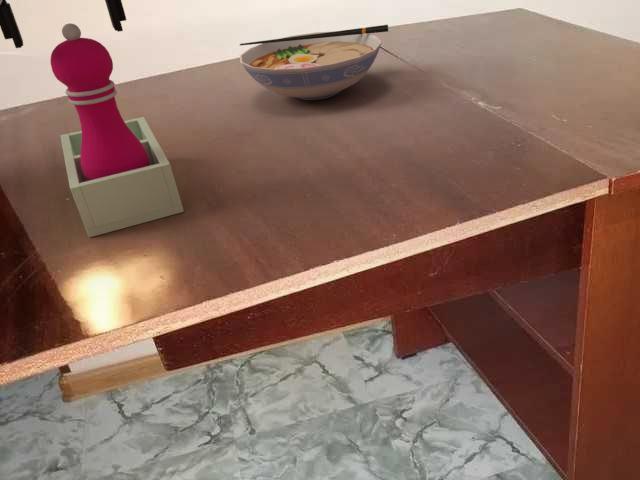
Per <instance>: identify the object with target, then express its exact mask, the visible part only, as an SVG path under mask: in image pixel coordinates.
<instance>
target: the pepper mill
mask: <svg viewBox="0 0 640 480" xmlns="http://www.w3.org/2000/svg"><path fill="white" fill-rule="evenodd" d="M61 34H62V36H63V38H64V39H65V40H64V41H61V42H60V43H58V44H57V45H56V46H55V47H54V48H53V50H52V52H51V54H50V67H51V71H52V73H53V76H54V77H55V78H56V80H57V81H59V82H60V83H61V84H62V85H64V86H66V87H67V89H65V91H64V92H65V95H66V96H67V97H68V99H67V101H68V103H69V104H71V105H73V106H74V108H75V111H76V112H77V115H78V118H79V123H80V129H81V130H80V131H82V144H81V154H80V157H81V167H82V170H83V173H84V176H85V178H86V179H87V180H88V181H90V180H94V179H98V178H102V177H106V176H110V175H114V174H118V173H122V172H126V171H131V170H135V169H139V168H143V167H147V166H149V158H148V155H147V153H146V150H145V148H144V147H143V145H142V144H141V142H140V141H139V140H138V139H137V137H136V136H135V135H134V134H133V133H132V131H131V130H130V129H129V128H128V126H127V125H126V124H125V122H124V121H125V120H124V119H123V117H122V115H121V113H120V111H119V108H118V105H117V102H116V96H117V94H118V90H117V89H116V87H115V85H116V84H115V82H114V81H113V80H111V79H110V77H111V75H112V73H113V69H114V63H113V62H114V61H113V59H112V56H111V54H110V52H109V51H108V49H107V47H106V46H104V45H103V44H102V43H101V42H99V41H97V40H95V39H92V38H88V37H81V36H82V31H81V29H80V27H79V26H78V25H77V24H75V23H66V24H64V25H63V26H62V28H61Z"/></svg>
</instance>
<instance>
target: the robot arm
mask: <svg viewBox="0 0 640 480" xmlns="http://www.w3.org/2000/svg"><path fill="white" fill-rule="evenodd" d="M104 2H105V5H106V9H107V12H108V16H109V18H110V22H111V26H112V28H113V29H114V31H115V32H119V33H120V32H124V30H123V26H122V22H124V21H125V22H126V21H127V17H126V13H125V9H124V5H123V1H122V0H104ZM0 30H1V32H2V35H3V37H4V40H12V41H13V45H14V48H15V49H21V48H22V47H24V40H23V37H22V34H21V31H20V29H19V26H18V22H17V20H16V17H15V15H14V12H13V9H12V6H11V4H10V3H9V2H8V1H7V0H0Z"/></svg>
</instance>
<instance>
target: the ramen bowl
mask: <svg viewBox="0 0 640 480" xmlns="http://www.w3.org/2000/svg"><path fill="white" fill-rule="evenodd" d="M388 32H389V24H381V25H375V26H367V27H359V28H358V27H357V28H351V29H343V30H333V31H317V32H311V33H302V34H296V35H289V36H285V37H280V38H274V39H267V40H259V41H251V42H250V41H249V42H244V43H239V46H249V45H255V46H252V47H250V48H248V49H246V51H244V52H243V53H241V54H240V55H239V62H240V64H241V65H242V67H243V68H244V70H245V71H246V72H247V73H248V74H249V76H251V78H252V79H253V80H254V81H256V82H257V83H258V84H259V85H260V86H262V87H263V88H266V89H268V90H269V91H272V92H274V93H276V94H278V95H281V96H286V97H292V98H296V99H298V100H302V101H319V100H325V99H328V98H332V97H335V96H336V95H339V94H340V92H342V91H343V90H345V89H347V88H349V87H351V86H354V85H355V84H356V83H358V82H359V81H360V80H361V79H363V78H364V77H365V75H367V73H368V72H369V70H370V68H371V67H372V65H373V64H374V62H375V60H376V58H377V56H378V54H379V52H380V49H381V45H382V41H381V39H380V38H379V37H378V36H377V35H374V34H376V33H377V34H379V33H388Z"/></svg>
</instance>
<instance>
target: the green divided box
mask: <svg viewBox="0 0 640 480" xmlns="http://www.w3.org/2000/svg"><path fill="white" fill-rule="evenodd" d="M124 122H125V124H126V125H127V126H128V128H129V129H130V130H131V131H132V133H133V134H134V135H135V136H136V137H137V139H138V140H139V141H140V142H141V144H142V145H143V147H144V148H145V150H146V153H147V155H148V158H149V166H147V167H143V168H139V169H135V170H131V171H126V172H122V173H118V174H114V175H110V176H106V177H102V178H98V179H94V180H90V181H88V180H87V179H86V178H85V176H84V173H83V170H82V167H81V157H80V154H81V144H82V130H78V131H73V132H69V133H64V134H60V137H59V138H60V142H61V147H62V153H63V158H64V163H65V169H66V175H67V181H68V185H69V190H70V193H71V195H72V197H73V201H74V202H75V206H76V208H77V211H78V214H79V216H80V219H81V221H82V224H83V227H84V229H85V232H86V235H87V237H88V239H89V238H90V239H91V238H93V237H97V236H101V235H104V234H108V233H111V232H115V231H119V230H122V229H126V228H129V227H134V226H136V225H141V224H145V223H148V222H152V221H155V220H158V219H162V218H166V217H169V216H173V215H177V214H182V213H184V212H185V210H184V207H183V204H182V200H181V196H180V193H179V189H178V187H177V183H176V180H175V176H174V173H173V169H172V166H171V163H170V162H169V160H168V158H167V155H165V152H164V151H163V149H162V147H161V145H160V144H159V141H158V140H157V138H156V136H155V134H154V133H153V130H152V129H151V127H150V125H149V123H148V121H147V120H146V118H145V117H144V116H141V117H137V118H136V117H135V118H132V119H127V120H124Z"/></svg>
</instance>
